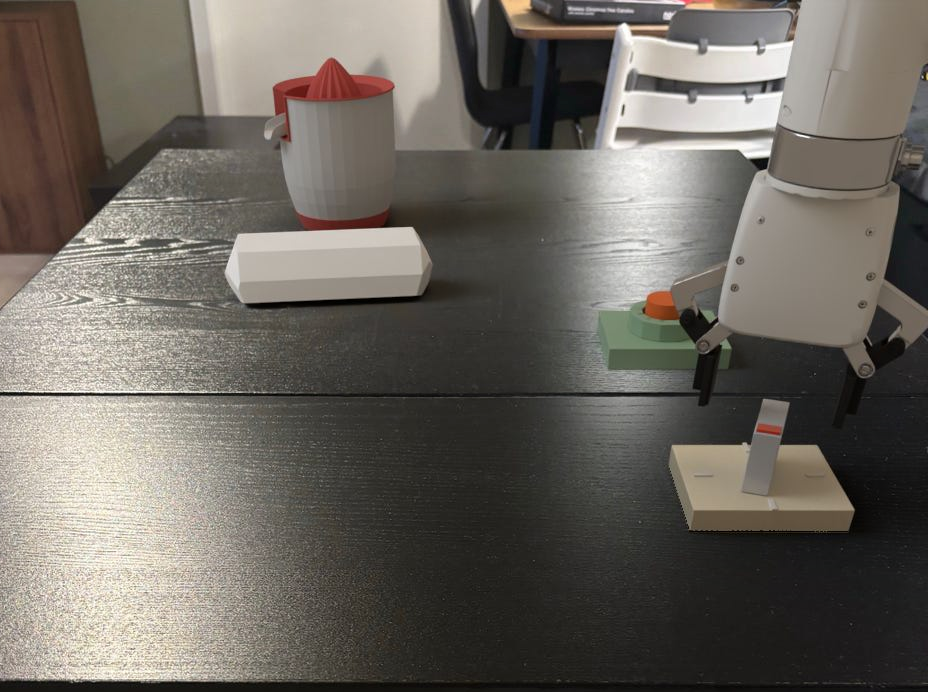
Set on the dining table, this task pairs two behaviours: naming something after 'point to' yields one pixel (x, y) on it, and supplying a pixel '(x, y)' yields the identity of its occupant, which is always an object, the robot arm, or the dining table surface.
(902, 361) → the dining table surface
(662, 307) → the button
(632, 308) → the button block
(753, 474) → the tap handle
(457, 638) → the dining table surface
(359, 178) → the citrus juicer
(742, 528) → the plate
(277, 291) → the crystal
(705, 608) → the dining table surface
